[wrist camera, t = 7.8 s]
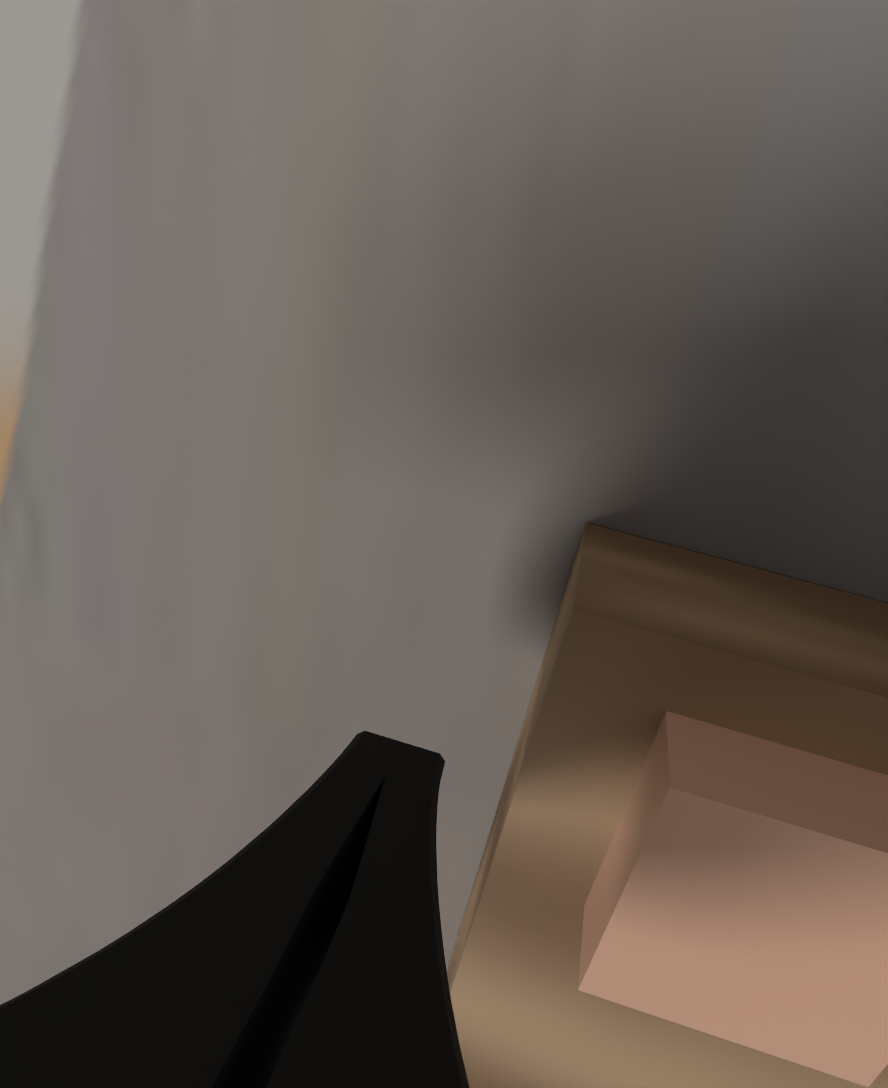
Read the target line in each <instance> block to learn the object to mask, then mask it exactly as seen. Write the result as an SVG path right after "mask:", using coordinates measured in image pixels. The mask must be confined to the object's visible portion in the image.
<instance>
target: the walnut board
mask: <svg viewBox="0 0 888 1088" xmlns="http://www.w3.org/2000/svg"><path fill="white" fill-rule="evenodd" d="M666 711H668V712H672V713H675V714H679V715H682V716H686V717H689V718H692V719H696V720H699V721H703V722H706V723H710V724H713V725H716V726H720V727H723V728H727V729H730V730H734V731H737V732H740V733H744V734H747V735H751V736H754V737H758V738H761V739H765V740H768V741H771V742H775V743H778V744H782V745H785V746H789V747H792V748H795V749H799V750H802V751H806V752H809V753H813V754H816V755H819V756H823V757H826V758H830V759H833V760H837V761H840V762H843V763H847V764H850V765H854V766H857V767H861V768H864V769H867V770H871V771H874V772H878V773H881V774H885V775H888V603H884V602H881V601H877V600H873V599H869V598H866V597H862V596H858V595H854V594H851V593H847V592H843V591H839V590H836V589H832V588H828V587H824V586H821V585H817V584H813V583H810V582H806V581H802V580H798V579H795V578H791V577H787V576H783V575H780V574H776V573H772V572H768V571H765V570H761V569H757V568H753V567H750V566H746V565H742V564H739V563H735V562H731V561H727V560H724V559H720V558H716V557H712V556H709V555H705V554H701V553H697V552H694V551H690V550H686V549H682V548H679V547H675V546H671V545H668V544H664V543H660V542H656V541H653V540H649V539H645V538H641V537H638V536H634V535H630V534H626V533H623V532H619V531H615V530H611V529H608V528H604V527H600V526H597V525H593V524H589V523H586V524H585V527H584V530H583V534H582V537H581V540H580V543H579V546H578V550H577V553H576V556H575V559H574V563H573V566H572V569H571V572H570V576H569V579H568V582H567V585H566V588H565V592H564V595H563V598H562V601H561V605H560V608H559V611H558V614H557V618H556V621H555V624H554V627H553V630H552V634H551V637H550V640H549V643H548V647H547V650H546V653H545V656H544V659H543V663H542V666H541V669H540V672H539V676H538V679H537V682H536V685H535V689H534V692H533V695H532V698H531V701H530V705H529V708H528V711H527V714H526V718H525V721H524V724H523V727H522V731H521V734H520V737H519V740H518V743H517V747H516V750H515V753H514V756H513V760H512V763H511V766H510V769H509V773H508V776H507V779H506V782H505V785H504V789H503V792H502V795H501V798H500V802H499V805H498V808H497V811H496V815H495V818H494V821H493V824H492V827H491V831H490V834H489V837H488V840H487V844H486V847H485V850H484V853H483V857H482V860H481V863H480V866H479V869H478V873H477V876H476V879H475V882H474V886H473V889H472V892H471V895H470V899H469V902H468V905H467V908H466V911H465V915H464V918H463V921H462V924H461V928H460V931H459V934H458V937H457V941H456V944H455V947H454V950H453V953H452V957H451V960H450V963H449V967H448V971H447V977H448V984H449V990H450V996H451V1002H452V1008H453V1013H454V1018H455V1023H456V1029H457V1034H458V1039H459V1044H460V1049H461V1053H462V1057H463V1062H464V1066H465V1070H466V1074H467V1078H468V1083H469V1087H470V1088H888V1065H887V1066H886V1067H885V1068H884V1069H883V1070H882V1072H881V1073H880V1074H879V1075H878V1076H877V1078H876V1079H875V1080H874V1081H873V1082H872V1084H871V1085H870V1086H869V1087H866V1086H863V1085H860V1084H857V1083H854V1082H851V1081H848V1080H845V1079H842V1078H839V1077H836V1076H833V1075H830V1074H827V1073H824V1072H821V1071H818V1070H815V1069H812V1068H809V1067H806V1066H803V1065H800V1064H797V1063H794V1062H791V1061H788V1060H785V1059H782V1058H779V1057H776V1056H773V1055H770V1054H767V1053H764V1052H761V1051H758V1050H755V1049H752V1048H749V1047H746V1046H743V1045H740V1044H737V1043H734V1042H731V1041H728V1040H725V1039H722V1038H719V1037H716V1036H714V1035H711V1034H708V1033H705V1032H702V1031H699V1030H696V1029H693V1028H690V1027H687V1026H684V1025H681V1024H678V1023H675V1022H672V1021H669V1020H666V1019H663V1018H660V1017H657V1016H654V1015H651V1014H648V1013H645V1012H642V1011H639V1010H636V1009H633V1008H630V1007H627V1006H624V1005H621V1004H618V1003H615V1002H612V1001H609V1000H606V999H603V998H600V997H597V996H594V995H591V994H588V993H585V992H582V991H579V990H578V984H579V971H580V957H581V944H582V931H583V917H584V905H585V902H586V900H587V898H588V895H589V893H590V890H591V888H592V886H593V883H594V881H595V879H596V876H597V874H598V871H599V869H600V867H601V864H602V862H603V860H604V857H605V855H606V852H607V850H608V848H609V845H610V843H611V841H612V838H613V836H614V834H615V831H616V829H617V826H618V824H619V822H620V819H621V817H622V815H623V812H624V810H625V807H626V805H627V803H628V800H629V798H630V796H631V793H632V791H633V788H634V786H635V784H636V781H637V779H638V777H639V774H640V772H641V770H642V767H643V765H644V762H645V760H646V758H647V755H648V753H649V751H650V748H651V746H652V743H653V741H654V739H655V736H656V734H657V732H658V729H659V727H660V724H661V722H662V720H663V717H664V715H665V713H666Z"/></svg>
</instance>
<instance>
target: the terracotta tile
mask: <svg viewBox="0 0 888 1088" xmlns="http://www.w3.org/2000/svg"><path fill="white" fill-rule="evenodd" d="M578 990H579V991H582V992H585V993H588V994H591V995H594V996H597V997H600V998H603V999H606V1000H609V1001H612V1002H615V1003H618V1004H621V1005H624V1006H627V1007H630V1008H633V1009H636V1010H639V1011H642V1012H645V1013H648V1014H651V1015H654V1016H657V1017H660V1018H663V1019H666V1020H669V1021H672V1022H675V1023H678V1024H681V1025H684V1026H687V1027H690V1028H693V1029H696V1030H699V1031H702V1032H705V1033H708V1034H711V1035H714V1036H716V1037H719V1038H722V1039H725V1040H728V1041H731V1042H734V1043H737V1044H740V1045H743V1046H746V1047H749V1048H752V1049H755V1050H758V1051H761V1052H764V1053H767V1054H770V1055H773V1056H776V1057H779V1058H782V1059H785V1060H788V1061H791V1062H794V1063H797V1064H800V1065H803V1066H806V1067H809V1068H812V1069H815V1070H818V1071H821V1072H824V1073H827V1074H830V1075H833V1076H836V1077H839V1078H842V1079H845V1080H848V1081H851V1082H854V1083H857V1084H860V1085H863V1086H866V1087H869V1086H870V1085H871V1084H872V1082H873V1081H874V1080H875V1079H876V1078H877V1076H878V1075H879V1074H880V1073H881V1072H882V1070H883V1069H884V1068H885V1067H886V1066H887V1065H888V775H885V774H881V773H878V772H874V771H871V770H867V769H864V768H861V767H857V766H854V765H850V764H847V763H843V762H840V761H837V760H833V759H830V758H826V757H823V756H819V755H816V754H813V753H809V752H806V751H802V750H799V749H795V748H792V747H789V746H785V745H782V744H778V743H775V742H771V741H768V740H765V739H761V738H758V737H754V736H751V735H747V734H744V733H740V732H737V731H734V730H730V729H727V728H723V727H720V726H716V725H713V724H710V723H706V722H703V721H699V720H696V719H692V718H689V717H686V716H682V715H679V714H675V713H672V712H668V711H666V713H665V715H664V717H663V720H662V722H661V724H660V727H659V729H658V732H657V734H656V736H655V739H654V741H653V743H652V746H651V748H650V751H649V753H648V755H647V758H646V760H645V762H644V765H643V767H642V770H641V772H640V774H639V777H638V779H637V781H636V784H635V786H634V788H633V791H632V793H631V796H630V798H629V800H628V803H627V805H626V807H625V810H624V812H623V815H622V817H621V819H620V822H619V824H618V826H617V829H616V831H615V834H614V836H613V838H612V841H611V843H610V845H609V848H608V850H607V852H606V855H605V857H604V860H603V862H602V864H601V867H600V869H599V871H598V874H597V876H596V879H595V881H594V883H593V886H592V888H591V890H590V893H589V895H588V898H587V900H586V902H585V905H584V917H583V931H582V944H581V957H580V971H579V984H578Z"/></svg>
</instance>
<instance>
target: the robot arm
mask: <svg viewBox="0 0 888 1088" xmlns="http://www.w3.org/2000/svg"><path fill="white" fill-rule="evenodd" d="M444 764H445V761H444V759H443V758H442V756H441V755H440V754H439V753H436V752H433V751H429V750H426V749H423V748H420V747H416V746H413V745H410V744H406V743H403V742H400V741H397V740H393V739H390V738H387V737H383V736H380V735H377V734H374V733H370V732H367V731H363V732H361V733H359V734H357V735H356V736H355V738H354V739H353V740H352V741H351V743H350V744H349V745H348V746H347V748H346V749H345V750H344V751H343V752H342V754H341V755H340V756H339V757H338V758H337V759H336V760H335V762H334V763H333V764H332V765H331V766H330V767H329V768H328V769H327V770H326V771H325V772H324V773H323V774H322V775H321V777H320V778H319V779H318V780H317V781H316V782H315V783H314V784H313V785H312V786H311V787H310V788H309V789H308V790H307V791H306V792H305V793H304V794H303V795H302V796H301V797H300V798H299V799H297V800H296V801H295V802H294V803H293V804H292V805H291V806H290V807H289V808H288V809H287V810H286V811H285V812H284V813H283V814H282V815H281V816H280V817H279V818H278V819H277V820H275V821H274V822H273V823H272V824H271V825H270V826H269V827H268V828H266V829H265V830H264V831H263V832H262V833H261V834H259V835H258V836H257V837H256V838H255V839H254V840H252V841H251V842H250V843H249V844H248V845H246V846H245V847H244V848H243V849H242V850H241V851H239V852H238V853H237V854H236V855H235V856H234V857H232V858H231V859H230V860H229V861H227V862H226V863H225V864H224V865H222V866H221V867H220V868H219V869H217V870H216V871H215V872H214V873H212V874H211V875H210V876H208V877H207V878H206V879H204V880H203V881H202V882H200V883H199V884H198V885H196V886H195V887H194V888H192V889H191V890H190V891H188V892H187V893H185V894H184V895H183V896H181V897H180V898H179V899H177V900H176V901H174V902H173V903H171V904H170V905H169V906H167V907H166V908H164V909H163V910H161V911H160V912H158V913H157V914H155V915H154V916H152V917H151V918H149V919H148V920H146V921H145V922H143V923H142V924H140V925H139V926H137V927H136V928H134V929H133V930H131V931H130V932H128V933H127V934H125V935H123V936H122V937H120V938H119V939H117V940H115V941H114V942H112V943H111V944H109V945H107V946H106V947H104V948H102V949H101V950H99V951H98V952H96V953H94V954H92V955H90V956H89V957H87V958H85V959H83V960H82V961H80V962H78V963H76V964H75V965H73V966H71V967H69V968H68V969H66V970H64V971H62V972H60V973H59V974H57V975H55V976H53V977H52V978H50V979H48V980H46V981H45V982H43V983H41V984H39V985H38V986H36V987H34V988H32V989H30V990H29V991H27V992H25V993H23V994H21V995H19V996H17V997H15V998H13V999H11V1000H10V1001H8V1002H5V1003H3V1004H1V1005H0V1088H470V1087H469V1083H468V1078H467V1074H466V1070H465V1066H464V1062H463V1057H462V1053H461V1049H460V1044H459V1039H458V1034H457V1029H456V1023H455V1018H454V1013H453V1008H452V1002H451V996H450V990H449V984H448V977H447V971H446V964H445V957H444V949H443V941H442V932H441V921H440V911H439V900H438V885H437V857H436V822H437V803H438V793H439V785H440V780H441V776H442V772H443V768H444Z"/></svg>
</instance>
